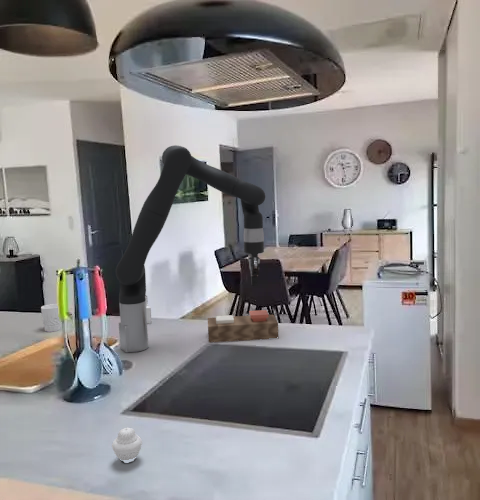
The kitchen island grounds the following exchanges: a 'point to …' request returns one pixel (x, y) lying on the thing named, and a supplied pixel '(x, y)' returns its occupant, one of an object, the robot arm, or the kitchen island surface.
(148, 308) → the medicine bottle
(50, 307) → the white cup
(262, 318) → the red square flowerpot
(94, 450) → the kitchen island surface
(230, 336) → the button box
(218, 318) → the white block
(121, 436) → the muffin
